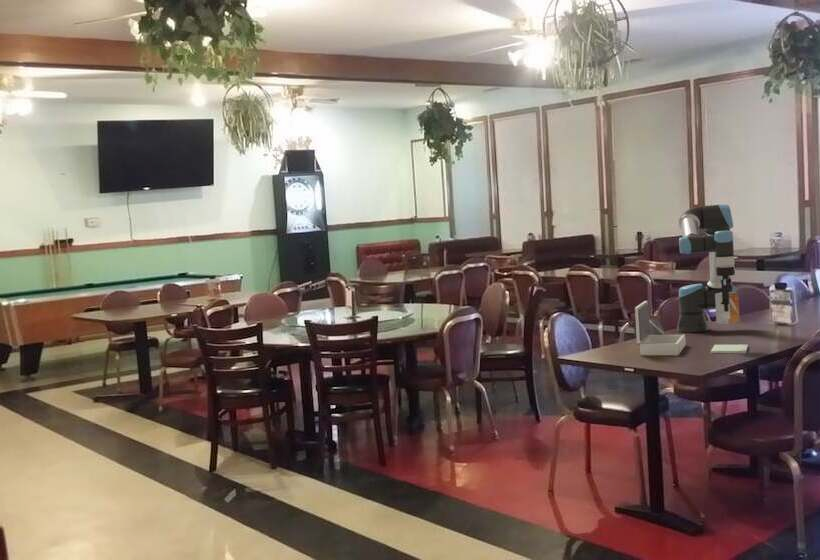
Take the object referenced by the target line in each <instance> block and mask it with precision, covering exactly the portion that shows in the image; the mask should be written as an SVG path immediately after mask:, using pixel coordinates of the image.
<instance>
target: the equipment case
mask: <svg viewBox="0 0 820 560" xmlns="http://www.w3.org/2000/svg"><path fill="white" fill-rule="evenodd" d="M649 307H650V305H649V302H648V300H644V301H643V302H641V303H639V304H638V305H636V306H635V307H634V312H635V313H634V315H635V316H634V317H635V318H634V319H635V331H636V332H635V334H636V345H637V346H639V352H640V356H679V355H680V353H681V352H682V351H683V349H684V348H685V347H686V334H666V335H649V334H650V323H651V324H652V325H653V326H654V327H655V328H656V329H658V330H659V331H660V332H661V333H662V334H664V333H663V332H662V331H661V330H660V329H659V328H658V327H657V326H656V325H655V324H653V323H652V322H651V321H650V320H649V316H650V308H649Z"/></svg>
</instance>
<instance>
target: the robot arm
mask: <svg viewBox="0 0 820 560" xmlns="http://www.w3.org/2000/svg"><path fill="white" fill-rule="evenodd" d="M678 226H679V229H680V230H681V234H682V236H681V237H679V240H678V246H679V248H678V249H679V253H680V254H683V255H685V254H687V255H690V254H700V253H701V254H703V253H704V254H705V253H708V256H709V257H708V258H709V261H708V262H709V263H708V264H709V280H708V282H707V283H706V285H707V286H706V285H705V286H704V285H703V284H702V283H695V284H693V283H692V284H689V285H684V286H681V287H680V288H679V289H678V300H679V301H678V302H679V319H678V322H677V324H676V325H677V327H676V331H677V332H678V333H679V332H680V333H703V332H708V331H709V324H708V322H707V319H706V317H705V310H716V302H715V294H717V293H722V302H721V304H723V319H730V304H729V292H736V286H735V285H734V284H733V283H732V279H731V277H732V276H735V274H736V269H735V264H736V263H735V254H734V253H735V252H734V248H735V247H734V233H733V231H732V230H731V229H733V228H734V222H733V215H732V211H731V207H730V205H729V204H711V205H702V206H700V205H699V206H692V207H691V208H689V209H687V210H686V211H684V212H683V213H682V214H681V215H680V217H679V219H678ZM700 231H704V233H705V235H700ZM730 276H731V277H730Z"/></svg>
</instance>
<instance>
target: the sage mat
mask: <svg viewBox="0 0 820 560" xmlns="http://www.w3.org/2000/svg"><path fill="white" fill-rule="evenodd" d="M748 348H749V344H713V347H712V348H711V350H710V354H747V350H748Z"/></svg>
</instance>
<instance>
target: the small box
mask: <svg viewBox="0 0 820 560" xmlns="http://www.w3.org/2000/svg"><path fill="white" fill-rule="evenodd" d="M739 297H740V296H739V292H738V291H735V292H729V304H730V319H723V304H721V302H722V293H717V294H715V302H716V309H715V317H716V318H715V319H716V324H726V325H727V324H728V325H729V324H733V323H737V322H740V321H741V319H740V298H739Z"/></svg>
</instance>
